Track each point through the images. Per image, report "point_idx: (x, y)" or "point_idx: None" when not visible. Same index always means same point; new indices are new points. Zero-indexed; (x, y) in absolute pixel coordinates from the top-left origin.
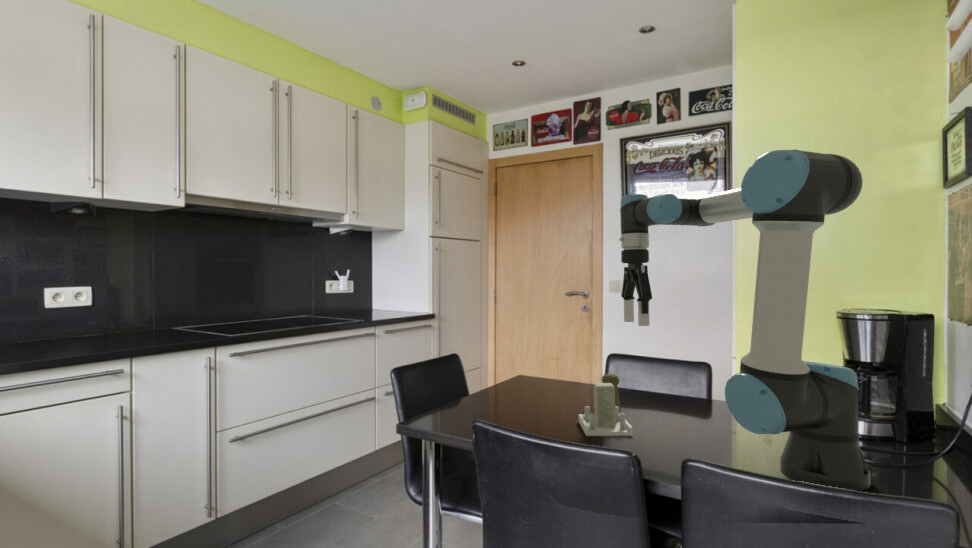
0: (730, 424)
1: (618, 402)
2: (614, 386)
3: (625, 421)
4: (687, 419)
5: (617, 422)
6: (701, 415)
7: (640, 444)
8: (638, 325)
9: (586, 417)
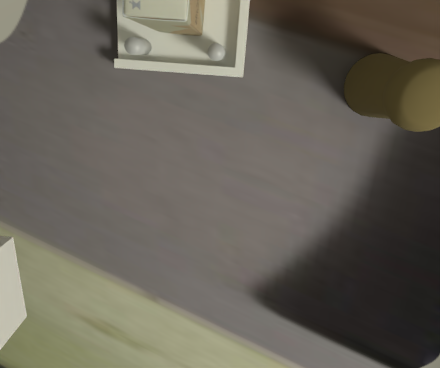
0: (207, 318)
1: (363, 109)
2: (124, 16)
3: (170, 66)
4: (252, 253)
5: (205, 52)
6: (281, 296)
7: (58, 64)
8: (7, 237)
9: None
